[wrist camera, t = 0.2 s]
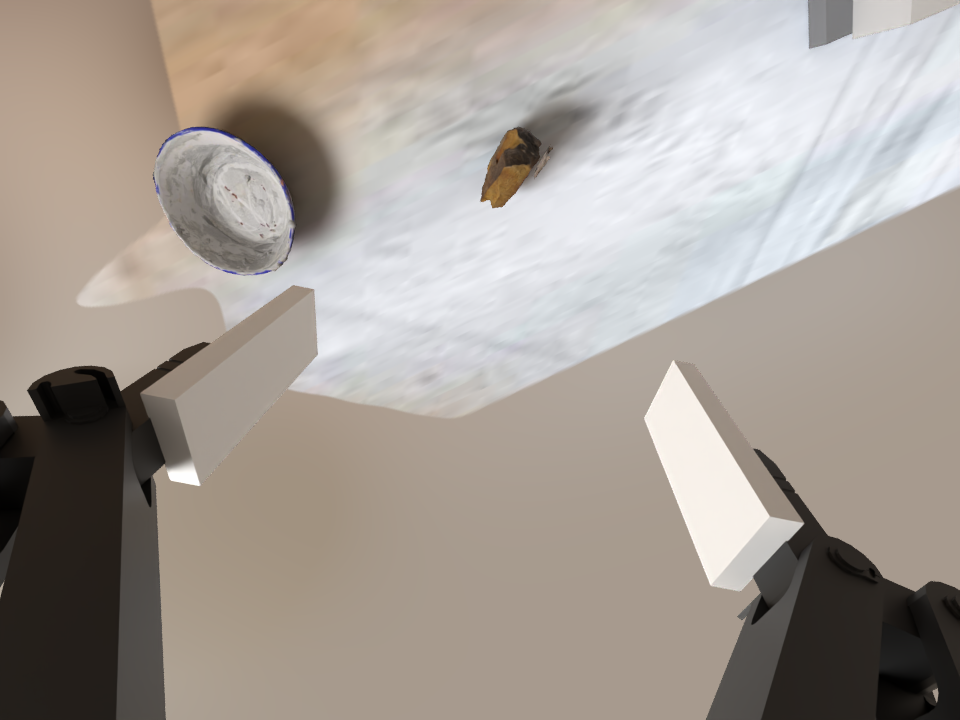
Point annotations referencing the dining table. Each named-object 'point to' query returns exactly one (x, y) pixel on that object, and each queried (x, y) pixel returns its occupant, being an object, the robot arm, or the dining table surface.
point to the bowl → (225, 201)
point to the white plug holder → (866, 17)
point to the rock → (511, 166)
